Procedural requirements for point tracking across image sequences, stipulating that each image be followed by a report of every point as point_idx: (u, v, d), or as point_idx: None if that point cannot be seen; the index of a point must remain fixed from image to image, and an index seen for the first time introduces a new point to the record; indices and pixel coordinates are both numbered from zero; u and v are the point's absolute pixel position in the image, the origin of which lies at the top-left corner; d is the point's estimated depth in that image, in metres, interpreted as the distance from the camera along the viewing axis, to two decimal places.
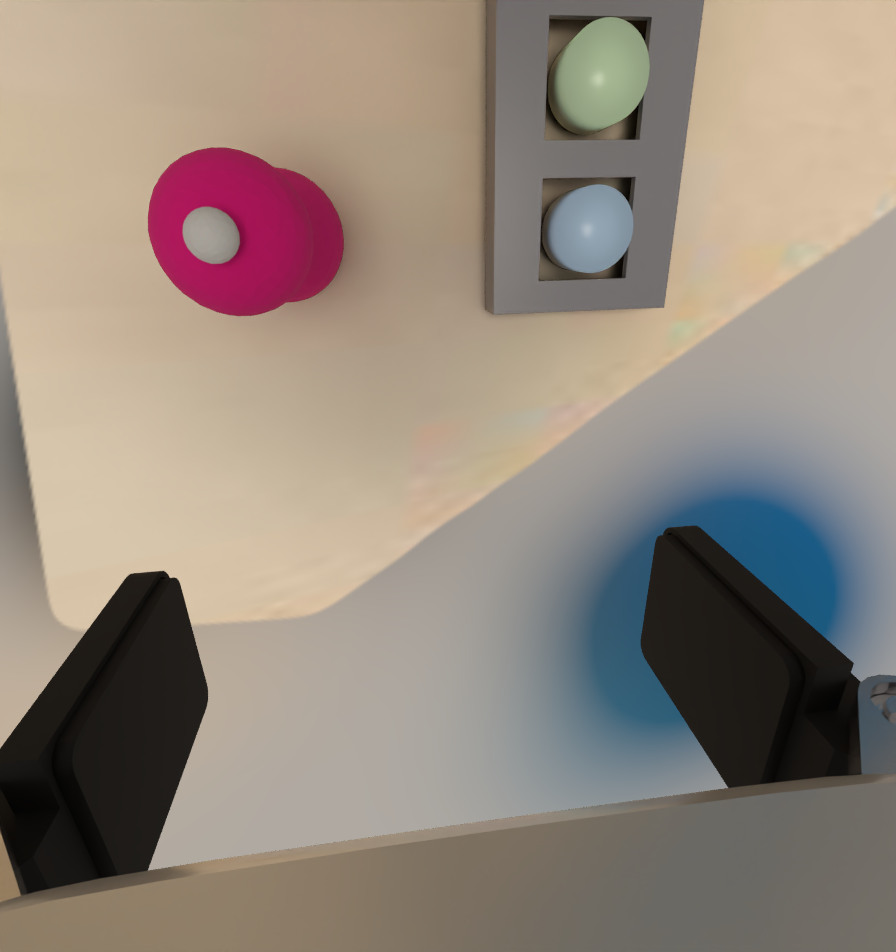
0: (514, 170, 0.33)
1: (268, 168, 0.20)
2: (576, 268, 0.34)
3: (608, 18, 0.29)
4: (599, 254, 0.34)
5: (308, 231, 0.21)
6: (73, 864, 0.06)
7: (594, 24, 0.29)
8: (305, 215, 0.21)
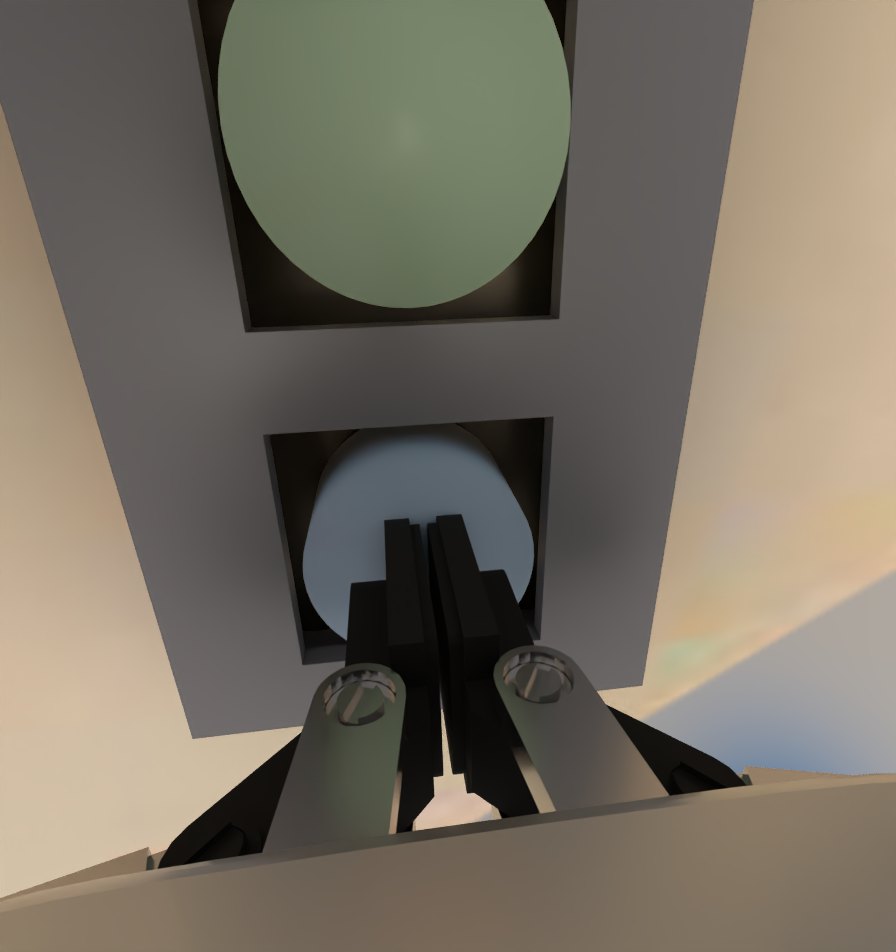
0: (163, 419, 0.10)
1: None
2: None
3: None
4: None
5: None
6: None
7: None
8: None
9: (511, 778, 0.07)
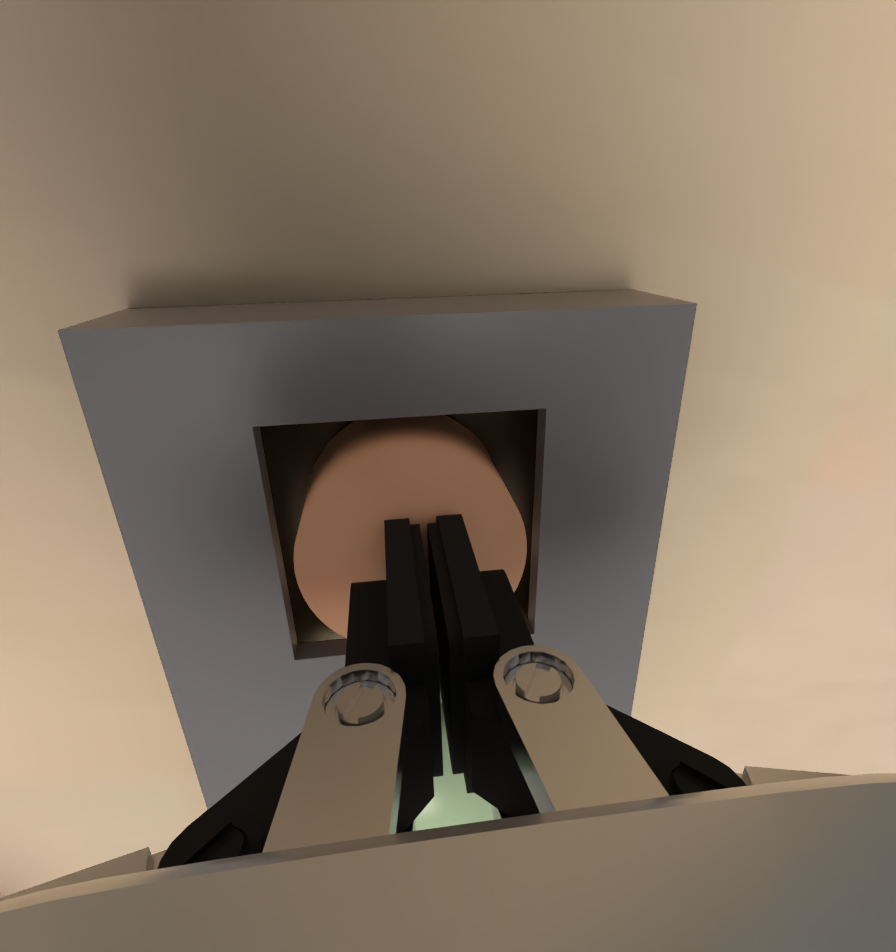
0: None
1: None
2: None
3: None
4: None
5: None
6: None
7: None
8: None
9: (511, 778, 0.07)
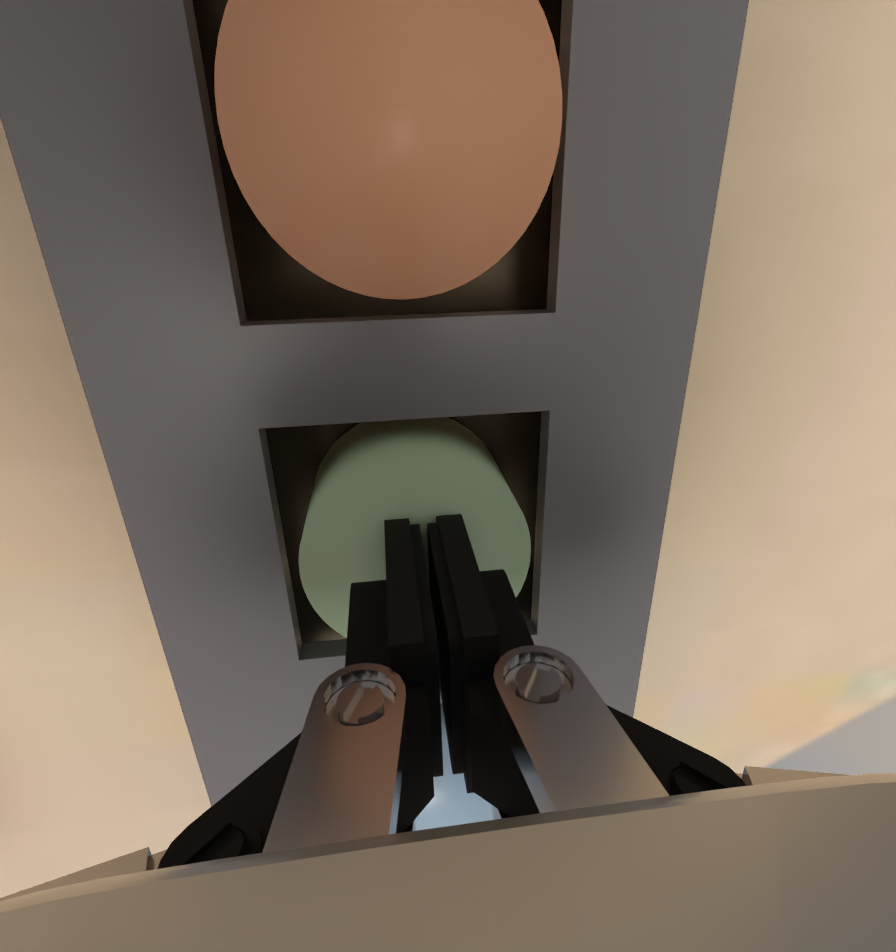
0: (235, 715, 0.14)
1: None
2: None
3: (404, 460, 0.11)
4: None
5: None
6: None
7: (367, 474, 0.11)
8: None
9: (511, 778, 0.07)
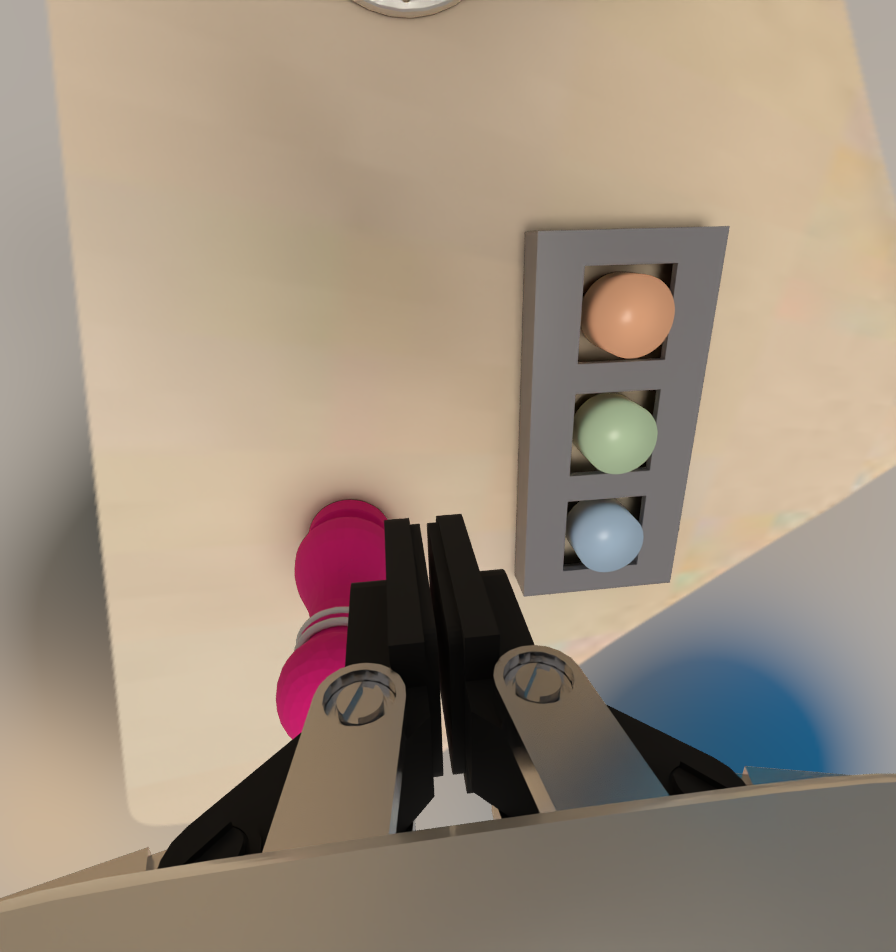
0: (543, 498, 0.39)
1: None
2: (595, 569, 0.40)
3: (623, 405, 0.35)
4: (614, 559, 0.40)
5: None
6: None
7: (612, 409, 0.36)
8: None
9: (510, 777, 0.07)
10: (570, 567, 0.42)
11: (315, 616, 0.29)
